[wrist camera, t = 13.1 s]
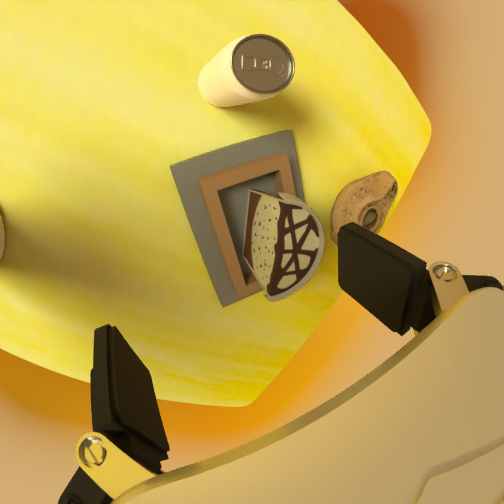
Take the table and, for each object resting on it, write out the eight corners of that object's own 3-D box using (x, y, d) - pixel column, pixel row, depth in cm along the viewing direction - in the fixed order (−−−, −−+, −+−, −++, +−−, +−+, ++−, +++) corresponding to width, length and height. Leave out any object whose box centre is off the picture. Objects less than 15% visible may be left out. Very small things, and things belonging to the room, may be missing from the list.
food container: (279, 261, 41) (315, 298, 32) (241, 264, 38) (270, 306, 30) (292, 179, 36) (338, 199, 27) (249, 177, 33) (288, 197, 25)
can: (248, 107, 30) (299, 102, 20) (197, 108, 28) (225, 98, 18) (248, 60, 27) (299, 36, 17) (197, 59, 25) (225, 25, 15)
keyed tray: (220, 303, 41) (227, 317, 38) (169, 165, 30) (172, 170, 27) (310, 263, 45) (321, 273, 42) (287, 129, 33) (301, 131, 30)
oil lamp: (387, 182, 44) (420, 195, 37) (344, 250, 47) (374, 271, 40) (355, 145, 38) (392, 154, 31) (305, 223, 41) (337, 245, 34)
